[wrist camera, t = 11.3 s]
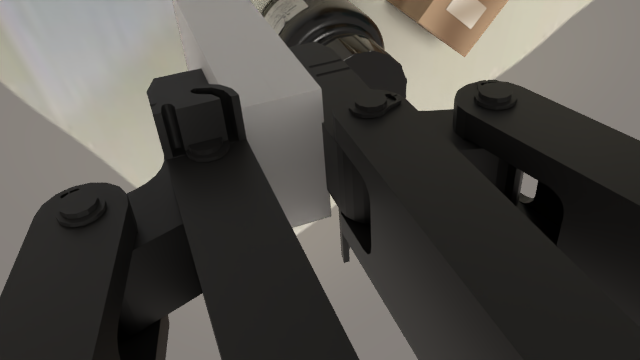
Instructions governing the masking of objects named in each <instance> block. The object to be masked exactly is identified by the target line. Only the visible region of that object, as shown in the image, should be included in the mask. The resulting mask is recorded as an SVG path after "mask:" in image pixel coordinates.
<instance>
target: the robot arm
mask: <svg viewBox="0 0 640 360" xmlns="http://www.w3.org/2000/svg"><path fill="white" fill-rule="evenodd" d="M172 1H173V6H174V10H175V15H176V19H177V24H178V28H179V32H180V37H181V41H182V46H183V50H184V55H185V59H186V63H187V68H188V71H186V72H182V73H177V74H173V75H168V76H164V77H159V78H155V79H153V81H152V83H151V85H150V87H149V88H148V90H147V95H148V98H149V102H150V106H151V109H152V113H153V117H154V121H155V124H156V128H157V131H158V135H159V139H160V142H161V146H162V149H163V153H164V163H163V166H162V168H161V170H160V171H159V172H158V173H157V175H156V176H155V177H153V178H152V179H151V180H150V181H149V182H147V183H146V184H144V185H142V186H141V187H139V188H137V189H136V190H133V191H131V192H129V193H127V194H126V193H125V192H124V191H123V190H122V189H121V188H120V187H119V186H116V185H112V184H108V183H87V184H84V185H79V186H75V187H71V188H69V189H67V190H64V191H62V192H60V193H58V194H56V195H55V196H54V197H52V198H51V199H50V200H48V201H47V202H46V203H44V204H43V205H42V206H41V208H40V209H39V210H38V212H37V213H36V215H35V216H34V218H33V221H32V223H31V225H30V228H29V230H28V232H27V235H26V237H25V239H24V242H23V244H22V247H21V249H20V251H19V254H18V256H17V258H16V261H15V263H14V266H13V268H12V270H11V272H10V275H9V278H8V280H7V282H6V284H5V287H4V289H3V291H2V294H1V296H0V360H165V357H166V348H167V340H168V330H169V319H168V314H169V313H171V312H172V311H174V310H176V309H177V308H179V307H181V306H182V305H184V304H185V303H187V302H189V301H190V300H192V299H194V298H195V297H197V296H199V295H200V294H202V293H203V296H204V299H205V303H206V307H207V310H208V313H209V317H210V321H211V324H212V328H213V331H214V335H215V338H216V342H217V345H218V349H219V353H220V356H221V360H359V358H358V356H357V354H356V352H355V351H354V348H353V346H352V344H351V342H350V341H349V339H348V337H347V335H346V333H345V331H344V329H343V327H342V325H341V323H340V321H339V319H338V317H337V315H336V314H335V311H334V309H333V307H332V305H331V303H330V301H329V299H328V297H327V296H326V293H325V292H324V290H323V288H322V286H321V284H320V282H319V280H318V278H317V276H316V274H315V272H314V270H313V268H312V266H311V264H310V262H309V260H308V258H307V256H306V254H305V252H304V250H303V249H302V247H301V245H300V243H299V241H298V239H297V237H296V235H295V233H294V231H293V229H292V228H293V227H297V226H300V225H304V224H307V223H310V222H314V221H317V220H320V219H324V218H327V217H331V206H330V195H331V196H332V198H333V199H334V201H335V202H336V204H337V206H338V207H339V220H340V236H341V251H342V257H343V261H344V263H345V262H348V261H349V249H350V247H351V248H352V250H353V251H354V253H355V255H356V257H357V258H358V260H359V262H360V263H361V265H362V266H363V268H364V270H365V272H366V273H367V275H368V277H369V278H370V280H371V282H372V283H373V285H374V287H375V288H376V290H377V291H378V293H379V295H380V297H381V298H382V300H383V302H384V303H385V305H386V307H387V308H388V310H389V312H390V313H391V315H392V317H393V318H394V320H395V322H396V323H397V325H398V327H399V328H400V330H401V332H402V333H403V335H404V337H405V338H406V340H407V341H408V343H409V345H410V346H411V348H412V350H413V351H414V353H415V355H416V356H417V358H418V360H640V141H639V140H637V139H635V138H633V137H630V136H628V135H626V134H624V133H622V132H620V131H617V130H615V129H613V128H611V127H609V126H606V125H604V124H602V123H600V122H598V121H595V120H593V119H591V118H589V117H587V116H585V115H582V114H580V113H578V112H576V111H574V110H571V109H569V108H567V107H565V106H563V105H560V104H558V103H556V102H554V101H552V100H550V99H547V98H545V97H543V96H541V95H539V94H536V93H534V92H532V91H530V90H528V89H525V88H523V87H521V86H518V85H515V84H511V83H509V82H501V81H497V80H488V81H486V80H483V81H478V82H475V83H471V84H468V85H465V86H464V87H462V88H461V89H459V90H458V91H457V94H456V96H455V100H454V109H451V110H435V111H418V110H417V109H416V108H415V107H414V106H412V105H411V104H410V103H409V102H408V101H407V100H406V99H405V98H404V97H402V96H400V95H399V94H397V93H394V92H391V91H387V90H380V89H370V88H369V87H368V86H367V85H366V84H365V83H364V82H363V80H362V79H361V78H360V77H359V76H358V75H357V74H356V73H355V72H354V71H353V70H352V69H350V67H349V66H348V65H347V64H346V63H345V62H344V61H342V59H341V58H340V56H339V55H338V54H337V53H336V52H335V51H334V50H333V49H332V48H329V47H327V46H324V45H322V44H319V43H317V42H311V43H306V44H301V45H297V46H292V47H287V45H286V44H285V43H284V42H283V40H282V39H281V38H280V37H279V36H278V34H277V33H276V32H275V31H274V29H273V28H272V27H271V26H270V24H269V23H268V22H267V21H266V19H265V18H264V17H263V16H262V15H261V13H260V12H259V11H258V10H257V8H256V7H255V6H254V5H253V3H252V2H251V1H250V0H172ZM524 172H525V173H526V174H528V175H530V176H531V177H533V178H535V179H537V180H538V185H537V190H536V195H535V197H534V198H529V197H527V196H524V195H523V194H522V193H520V190H521V184H522V178H523V173H524Z"/></svg>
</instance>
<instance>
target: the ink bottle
mask: <svg viewBox="0 0 640 360" xmlns="http://www.w3.org/2000/svg"><path fill="white" fill-rule="evenodd" d="M262 16H263V17H264V18H265V19H266V21H267V22H268V23H269V24H270V26H271V27H272V28H273V29H274V31H275V32H276V33H277V34H278V36H279V37H280V38H281V39H282V40H283V42H284V43H285V44H286V45H287V47H292V46H297V45H301V44H306V43H311V42H317V43H319V44H322V45H324V46H327V47H329V48H332V49H333V50H334V51H335V52H336V53H337V54H338V55H339V56H340V58H341V59H342V61H344V62H345V63H346V64H347V65H348V66H349V67H350V69H352V70H353V71H354V72H355V73H356V74H357V75H358V76H359V77H360V78H361V79H362V80H363V82H364V83H365V84H366V85H367V86H368V87H369V88H370V89H380V90H387V91H391V92H394V93H397V94H399V95H400V96H402V97H404V98H405V99H406V83H407V79H406V78H405V75H404V72H403V70H402V66H401V64H400V63H398V62H397V61H396V60H395V59H394V58H393V57H391V55H389V54H388V53H387V52H386V51H385V48H384V42H383V38H382V35H381V33H380V31H379V29H378V27H377V26H376V24H375V23H374V22H373V21H372V20H371V19H370V18H369V17H368V16H367V15H366V14H365V13H363V12H362V11H361V10H360V9H358V8H357V7H356V6H355V5H353V4H352V3H351V2H350V1H348V0H273V1H272V2H271V3H270V4H269V5H268V7H267V8H266V9H265V11H264V13H263V15H262Z"/></svg>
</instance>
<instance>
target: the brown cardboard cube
mask: <svg viewBox="0 0 640 360" xmlns="http://www.w3.org/2000/svg"><path fill="white" fill-rule="evenodd" d="M387 1H389V2H390V3H391V4H393V5H394V6H395V7H397V8H398V9H399V10H401V11H402V12H403V13H405V14H406V15H407V16H409V17H410V18H411V19H413V20H414V21H415V22H417V23H418V24H419V25H421V26H422V27H423V28H425V29H426V30H427V31H429V32H430V33H431V34H433V35H434V36H436V37H437V38H438V39H440V40H441V41H443V42H444V43H445V44H447V45H448V46H450V47H451V48H452V49H454V50H455V51H457V52H458V53H459V54H461V55H462V56H464V57H465V56H466V55H467V54H468V52H469V51H470V50H471V48H472V47H473V46H474V44H475V43H476V42H477V41H478V39H479V38H480V37H481V35H482V34H483V33H484V31H485V30H486V29H487V28H488V26H489V25H490V24H491V22H492V21H493V20H494V18H495V17H496V16H497V14H498V13H499V12H500V11H501V9H502V8H503V7H504V5H505V4H506V3H507V1H508V0H387Z"/></svg>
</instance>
